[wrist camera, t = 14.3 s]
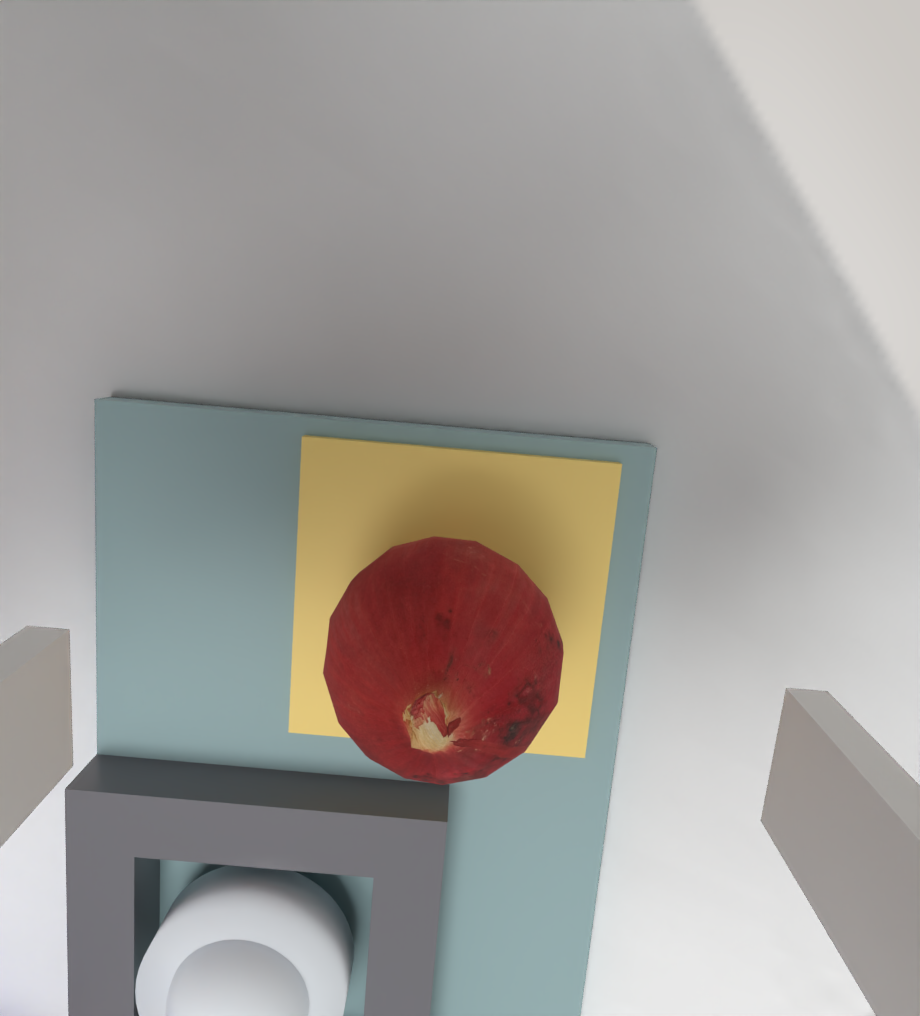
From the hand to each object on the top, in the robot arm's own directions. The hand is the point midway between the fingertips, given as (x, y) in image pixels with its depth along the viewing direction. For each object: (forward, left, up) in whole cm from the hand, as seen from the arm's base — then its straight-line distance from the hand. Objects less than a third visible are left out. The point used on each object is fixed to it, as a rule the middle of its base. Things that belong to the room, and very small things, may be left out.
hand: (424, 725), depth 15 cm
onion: (+1, 0, -9) cm, 9 cm away
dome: (+12, -5, -8) cm, 15 cm away
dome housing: (+12, -5, -10) cm, 16 cm away
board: (+6, -2, -10) cm, 12 cm away
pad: (0, 0, -10) cm, 10 cm away
